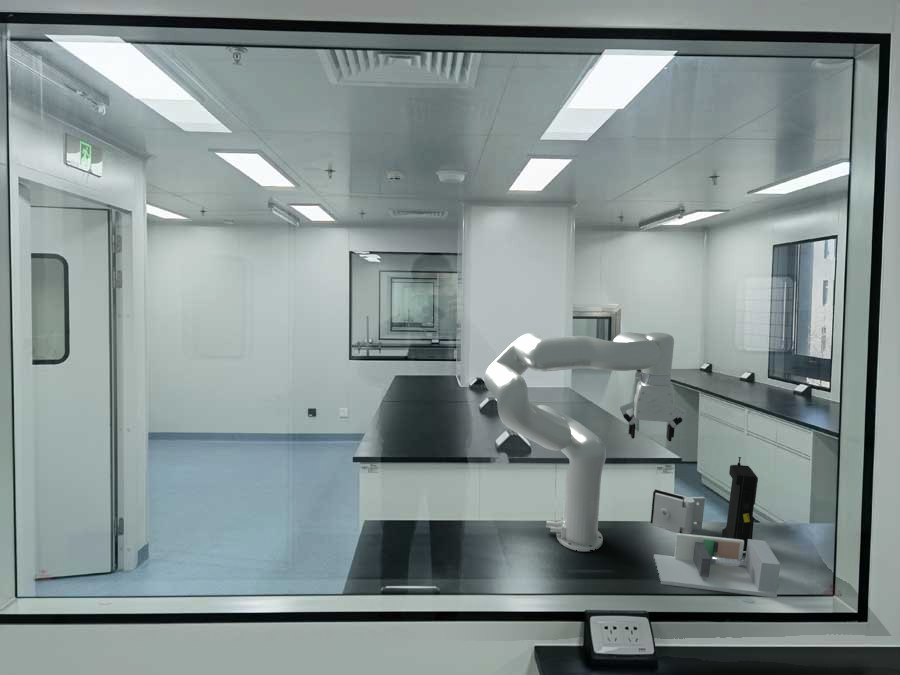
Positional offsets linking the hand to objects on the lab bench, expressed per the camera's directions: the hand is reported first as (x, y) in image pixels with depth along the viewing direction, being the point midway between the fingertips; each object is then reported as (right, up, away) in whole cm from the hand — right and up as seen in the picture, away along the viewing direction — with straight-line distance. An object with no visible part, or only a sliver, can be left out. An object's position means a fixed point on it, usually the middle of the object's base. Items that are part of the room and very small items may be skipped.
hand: (650, 438), depth 152 cm
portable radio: (+23, -30, -2) cm, 37 cm away
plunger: (+12, -30, -15) cm, 36 cm away
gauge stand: (+10, -32, -14) cm, 37 cm away
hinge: (+10, -28, +8) cm, 31 cm away
